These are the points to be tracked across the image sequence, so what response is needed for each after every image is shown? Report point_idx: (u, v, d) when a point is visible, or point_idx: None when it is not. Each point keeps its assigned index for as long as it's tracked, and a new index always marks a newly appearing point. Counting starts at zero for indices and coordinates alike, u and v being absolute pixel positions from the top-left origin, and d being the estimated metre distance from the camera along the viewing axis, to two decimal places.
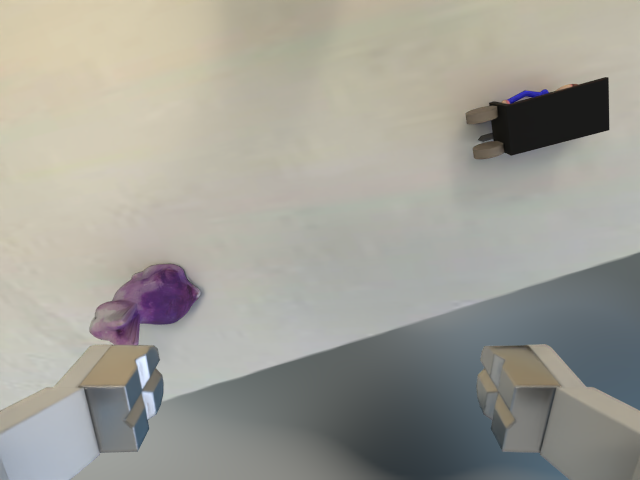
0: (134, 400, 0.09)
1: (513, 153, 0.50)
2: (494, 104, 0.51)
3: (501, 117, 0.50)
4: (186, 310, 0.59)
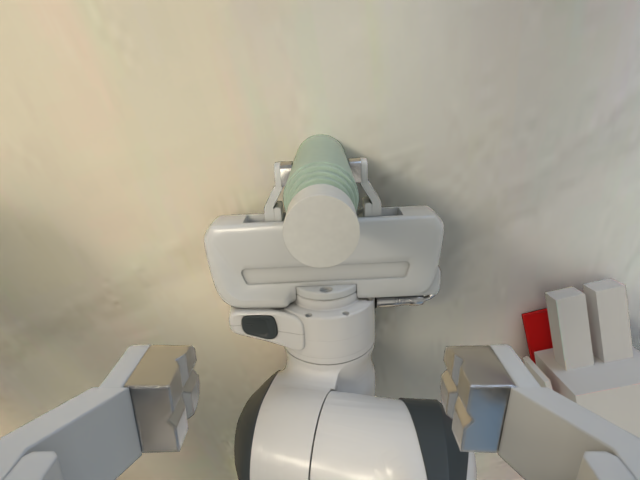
0: (177, 400, 0.09)
1: None
2: None
3: None
4: None
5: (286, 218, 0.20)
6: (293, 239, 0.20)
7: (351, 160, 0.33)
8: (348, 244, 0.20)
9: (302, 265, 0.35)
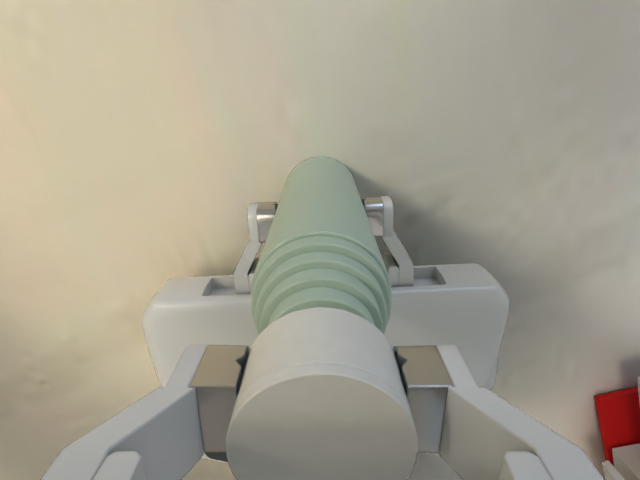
0: None
1: None
2: None
3: None
4: None
5: (233, 423, 0.08)
6: (253, 466, 0.08)
7: (368, 202, 0.22)
8: (388, 475, 0.08)
9: None
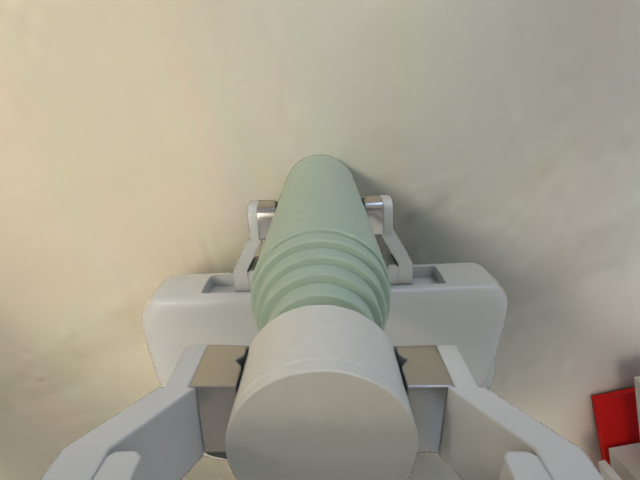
0: None
1: None
2: None
3: None
4: None
5: None
6: None
7: (367, 200, 0.22)
8: (362, 397, 0.08)
9: None
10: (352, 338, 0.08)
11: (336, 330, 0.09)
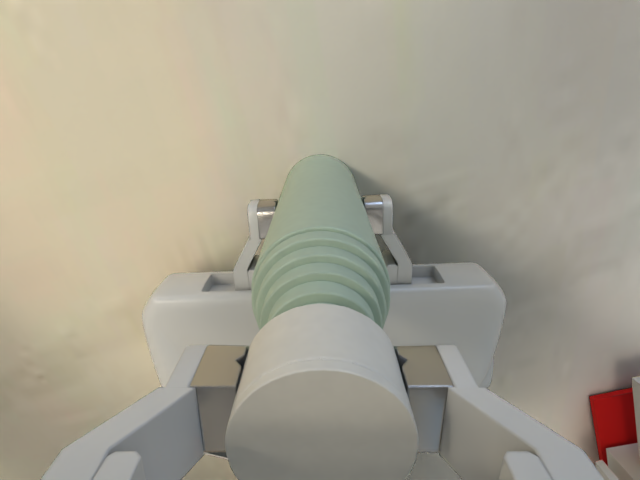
0: None
1: None
2: None
3: None
4: None
5: None
6: (394, 447, 0.08)
7: (367, 200, 0.22)
8: (259, 413, 0.08)
9: None
10: (242, 375, 0.09)
11: None
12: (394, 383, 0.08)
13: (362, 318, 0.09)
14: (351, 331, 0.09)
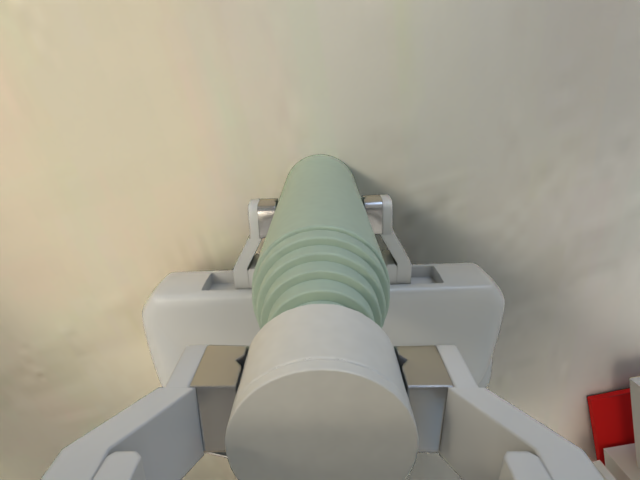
0: None
1: None
2: None
3: None
4: None
5: (389, 392, 0.08)
6: (327, 390, 0.07)
7: (367, 200, 0.22)
8: None
9: None
10: None
11: None
12: (264, 371, 0.08)
13: (256, 337, 0.10)
14: (244, 368, 0.09)
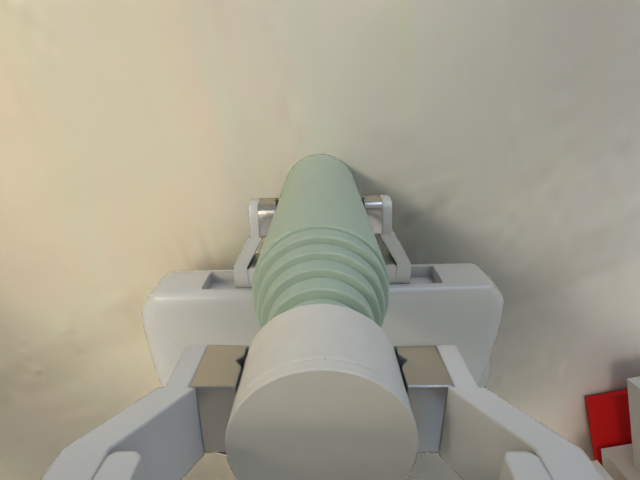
0: None
1: None
2: None
3: None
4: None
5: (255, 392, 0.07)
6: (249, 439, 0.08)
7: (367, 200, 0.22)
8: None
9: None
10: None
11: None
12: None
13: None
14: None
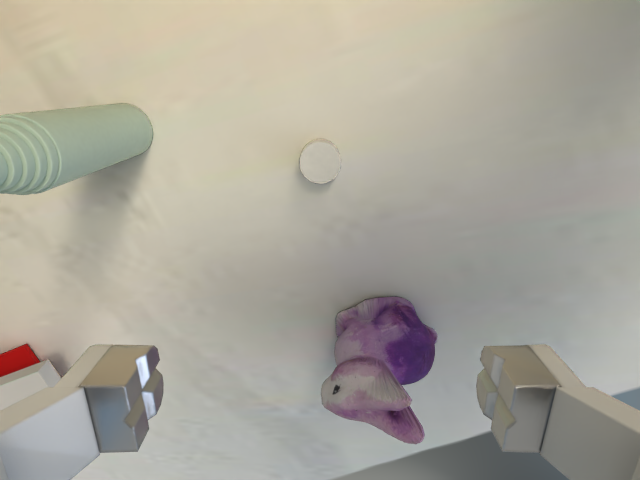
0: (134, 400, 0.09)
1: None
2: None
3: None
4: None
5: (306, 147, 0.37)
6: (304, 160, 0.37)
7: None
8: (330, 175, 0.37)
9: None
10: None
11: None
12: (302, 172, 0.38)
13: None
14: None
